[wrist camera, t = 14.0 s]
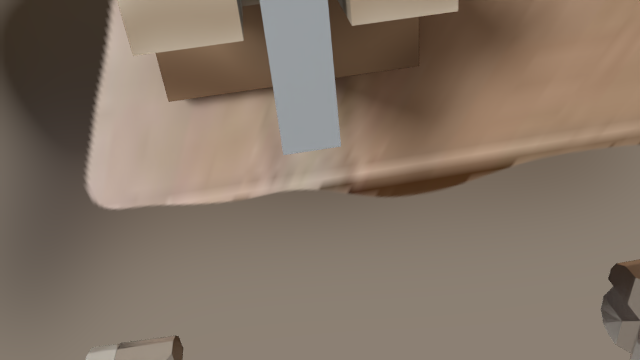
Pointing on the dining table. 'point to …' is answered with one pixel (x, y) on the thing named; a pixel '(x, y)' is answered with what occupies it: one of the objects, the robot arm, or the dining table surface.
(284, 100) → the slotted plate
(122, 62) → the dining table surface
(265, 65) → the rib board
